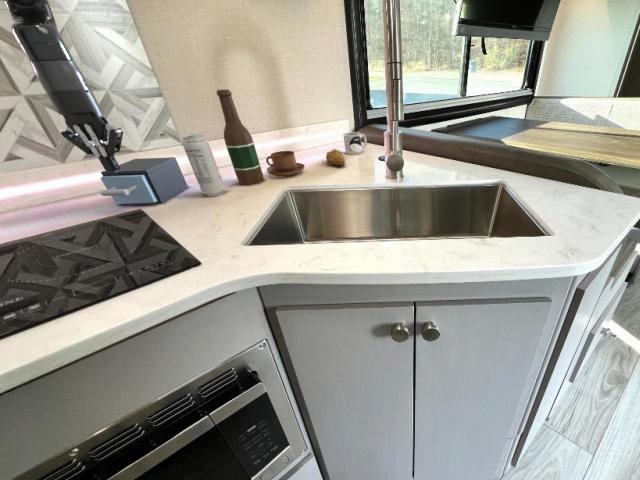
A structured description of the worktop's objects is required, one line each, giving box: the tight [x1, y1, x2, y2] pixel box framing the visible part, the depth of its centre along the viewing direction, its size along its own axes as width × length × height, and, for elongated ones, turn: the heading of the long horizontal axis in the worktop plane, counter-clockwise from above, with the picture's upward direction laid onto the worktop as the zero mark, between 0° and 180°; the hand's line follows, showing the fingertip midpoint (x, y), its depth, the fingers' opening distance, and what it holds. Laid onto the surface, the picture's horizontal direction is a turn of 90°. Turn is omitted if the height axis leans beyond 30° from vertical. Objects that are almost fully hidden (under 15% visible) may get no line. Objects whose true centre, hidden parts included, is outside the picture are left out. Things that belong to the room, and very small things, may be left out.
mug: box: [342, 131, 368, 155], centre depth 125 cm, size 10×7×7 cm
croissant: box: [325, 148, 346, 167], centre depth 111 cm, size 14×7×5 cm, turn 29°
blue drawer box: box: [100, 156, 189, 206], centre depth 88 cm, size 14×12×9 cm
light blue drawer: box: [99, 174, 157, 205], centre depth 84 cm, size 17×10×7 cm, turn 1°
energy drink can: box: [181, 133, 226, 197], centre depth 86 cm, size 6×6×15 cm
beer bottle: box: [216, 89, 265, 186], centre depth 91 cm, size 8×8×24 cm
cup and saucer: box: [265, 150, 305, 177], centre depth 103 cm, size 12×12×6 cm
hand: (114, 172), depth 77 cm, fingers closed
